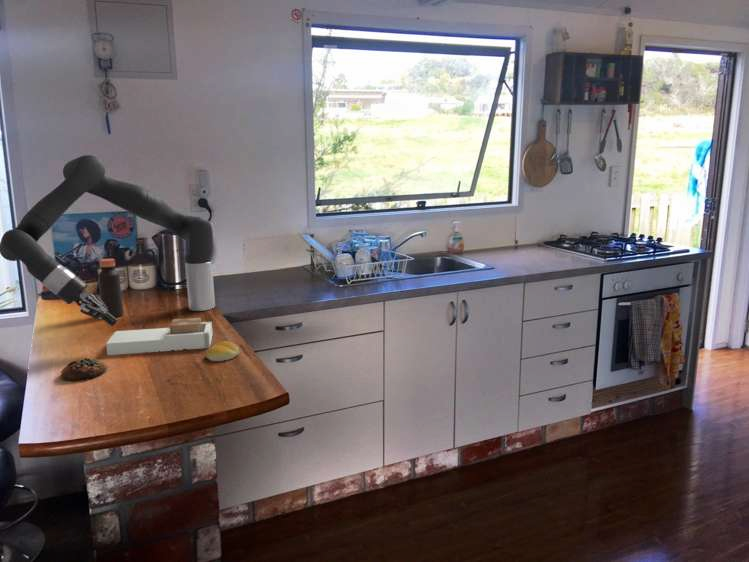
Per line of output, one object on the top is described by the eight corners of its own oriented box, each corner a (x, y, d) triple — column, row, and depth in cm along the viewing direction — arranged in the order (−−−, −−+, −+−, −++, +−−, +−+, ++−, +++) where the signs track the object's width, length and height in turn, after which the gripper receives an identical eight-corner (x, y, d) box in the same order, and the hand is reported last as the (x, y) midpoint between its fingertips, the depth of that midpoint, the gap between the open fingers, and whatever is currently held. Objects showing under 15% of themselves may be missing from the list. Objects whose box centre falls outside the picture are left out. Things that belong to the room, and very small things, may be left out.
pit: (171, 338, 190) (170, 324, 189) (212, 335, 192) (211, 321, 191) (166, 351, 178) (164, 336, 177) (209, 347, 180) (208, 333, 179)
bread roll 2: (200, 360, 170) (199, 347, 169) (219, 350, 178) (218, 337, 177) (225, 364, 167) (224, 350, 166) (244, 353, 175) (243, 340, 174)
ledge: (116, 342, 187) (115, 331, 186) (171, 338, 190) (170, 327, 189) (107, 355, 175) (106, 343, 175) (166, 351, 178) (165, 339, 177)
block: (173, 319, 186) (200, 317, 187) (175, 340, 187) (202, 338, 188) (170, 325, 179) (198, 323, 181) (172, 346, 181) (200, 344, 182)
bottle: (116, 318, 213) (109, 261, 208) (98, 318, 214) (91, 261, 210) (127, 313, 219) (121, 258, 215) (110, 312, 221) (104, 257, 216)
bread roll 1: (71, 385, 154) (69, 365, 153) (54, 380, 161) (51, 361, 161) (115, 374, 162) (112, 355, 161) (96, 370, 169) (94, 352, 169)
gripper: (67, 279, 168) (119, 320, 173) (80, 270, 181) (128, 308, 186) (48, 299, 168) (100, 339, 173) (63, 288, 181) (111, 326, 186)
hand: (115, 323), depth 179 cm, fingers closed
